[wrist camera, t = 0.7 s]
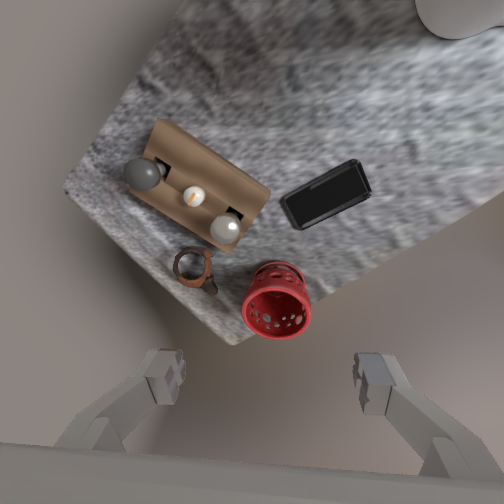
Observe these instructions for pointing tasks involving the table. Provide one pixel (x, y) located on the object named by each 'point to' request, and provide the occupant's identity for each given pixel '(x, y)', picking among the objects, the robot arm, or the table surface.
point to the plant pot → (277, 301)
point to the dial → (194, 195)
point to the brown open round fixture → (201, 282)
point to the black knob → (143, 173)
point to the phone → (328, 195)
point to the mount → (199, 183)
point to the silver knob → (225, 228)
